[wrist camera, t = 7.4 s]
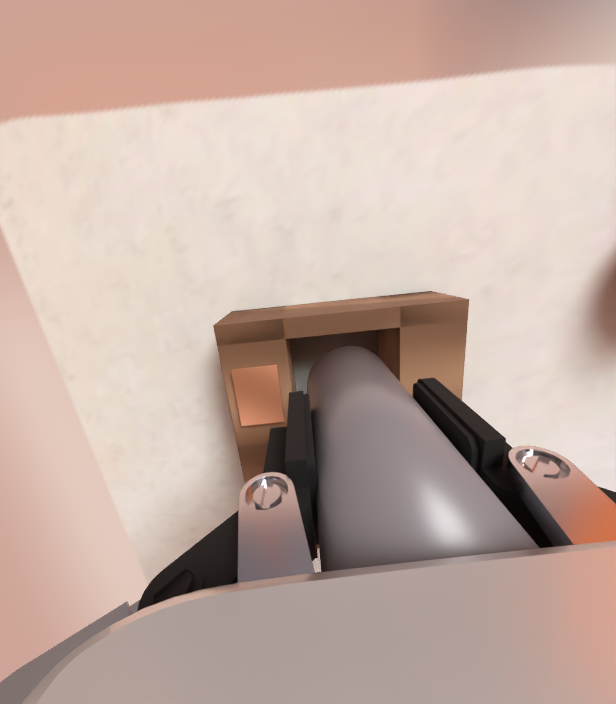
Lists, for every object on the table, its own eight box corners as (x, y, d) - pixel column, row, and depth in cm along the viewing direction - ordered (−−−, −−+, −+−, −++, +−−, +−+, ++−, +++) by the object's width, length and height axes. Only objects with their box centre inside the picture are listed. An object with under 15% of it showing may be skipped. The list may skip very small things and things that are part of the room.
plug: (388, 416, 15) (563, 712, 5) (311, 424, 15) (337, 738, 5) (388, 341, 13) (617, 546, 4) (303, 350, 13) (317, 577, 4)
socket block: (424, 485, 22) (454, 538, 17) (266, 502, 21) (258, 559, 17) (430, 291, 17) (472, 300, 13) (232, 311, 17) (211, 326, 13)
